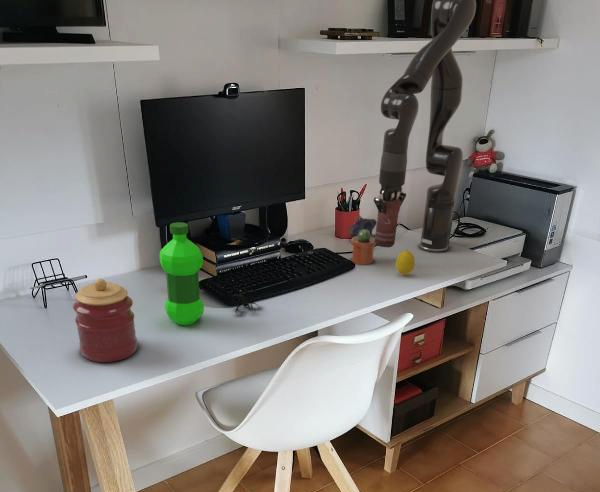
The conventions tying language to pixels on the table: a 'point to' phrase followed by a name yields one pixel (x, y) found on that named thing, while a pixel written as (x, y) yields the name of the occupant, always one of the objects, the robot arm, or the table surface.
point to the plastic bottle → (182, 276)
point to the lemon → (405, 262)
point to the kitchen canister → (105, 322)
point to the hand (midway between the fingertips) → (387, 226)
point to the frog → (362, 227)
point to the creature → (240, 301)
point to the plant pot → (363, 248)
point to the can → (387, 224)
